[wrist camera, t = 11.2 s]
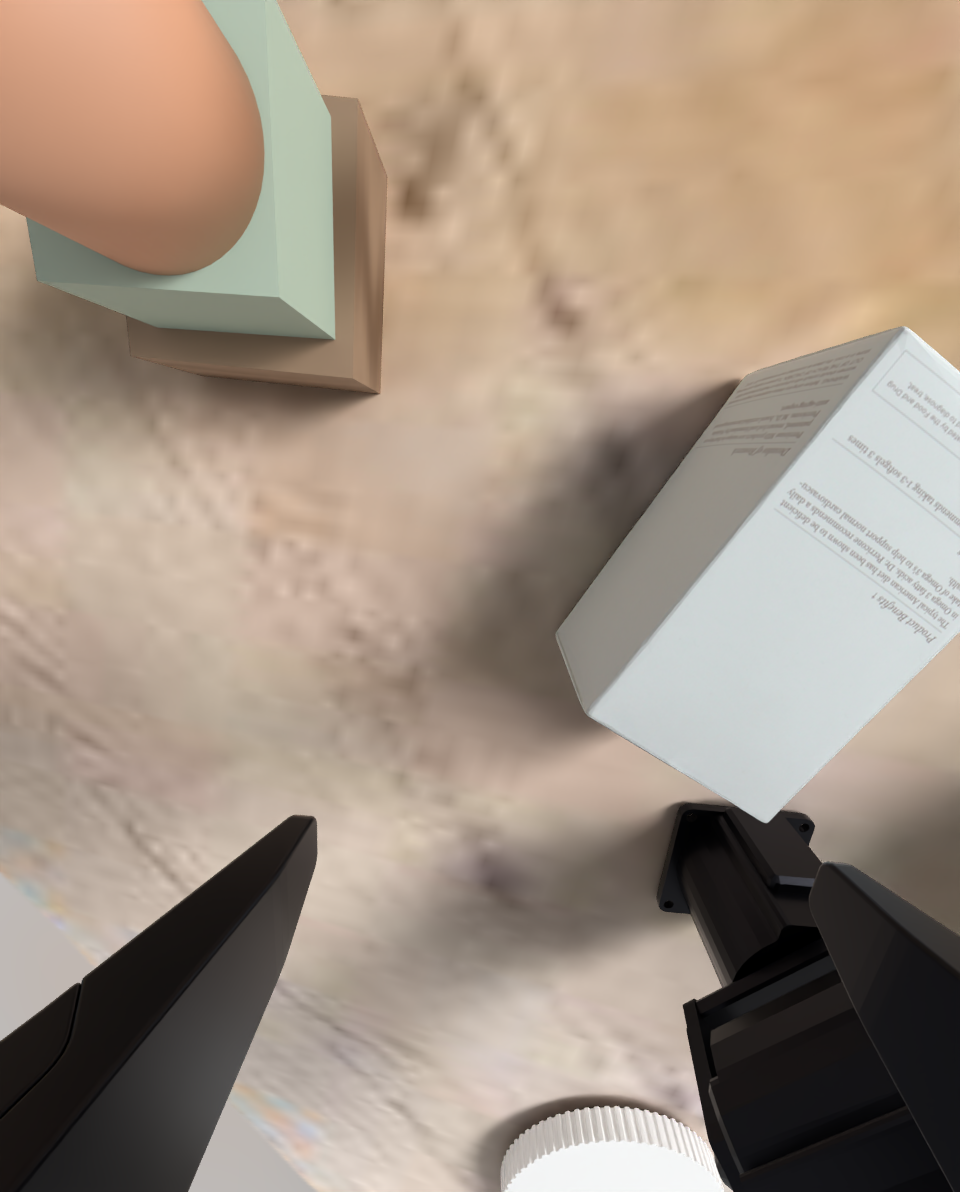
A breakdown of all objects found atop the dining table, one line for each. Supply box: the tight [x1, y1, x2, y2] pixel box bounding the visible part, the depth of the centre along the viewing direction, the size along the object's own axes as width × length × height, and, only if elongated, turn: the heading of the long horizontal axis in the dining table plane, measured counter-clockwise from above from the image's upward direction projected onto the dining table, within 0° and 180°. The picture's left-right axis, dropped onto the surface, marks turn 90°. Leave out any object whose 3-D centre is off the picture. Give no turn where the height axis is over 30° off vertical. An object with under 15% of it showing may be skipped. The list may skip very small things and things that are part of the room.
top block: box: [26, 0, 335, 340], centre depth 12 cm, size 6×6×4 cm
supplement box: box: [555, 326, 960, 823], centre depth 16 cm, size 7×7×13 cm
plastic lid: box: [501, 1106, 724, 1192], centre depth 31 cm, size 14×14×2 cm
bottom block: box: [126, 95, 387, 394], centre depth 16 cm, size 7×7×4 cm
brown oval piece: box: [0, 0, 265, 276], centre depth 8 cm, size 5×5×4 cm
